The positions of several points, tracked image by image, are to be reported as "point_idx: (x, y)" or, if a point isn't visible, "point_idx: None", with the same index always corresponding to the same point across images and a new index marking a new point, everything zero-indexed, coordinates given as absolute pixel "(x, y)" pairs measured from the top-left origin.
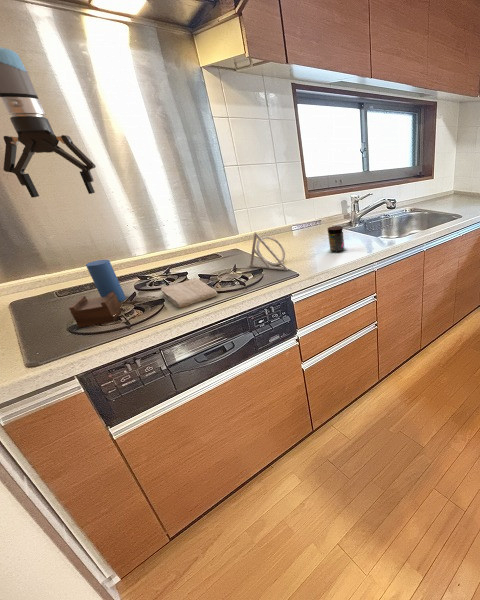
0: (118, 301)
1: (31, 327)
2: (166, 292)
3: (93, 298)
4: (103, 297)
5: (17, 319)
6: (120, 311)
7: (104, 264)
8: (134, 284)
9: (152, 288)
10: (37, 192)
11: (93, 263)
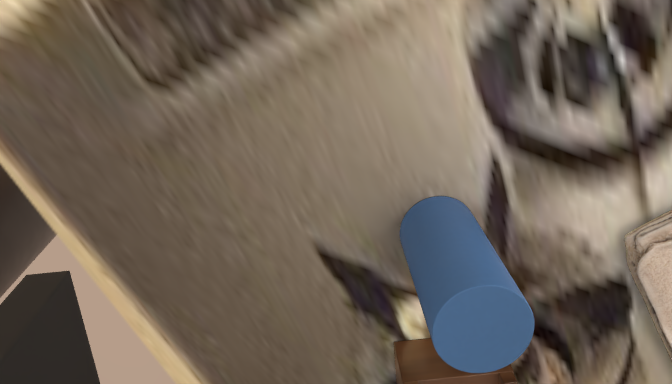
0: None
1: (237, 373)
2: (666, 322)
3: (439, 379)
4: (474, 381)
5: (136, 290)
6: None
7: (519, 353)
8: (463, 38)
9: (563, 138)
10: (44, 305)
11: (466, 339)
